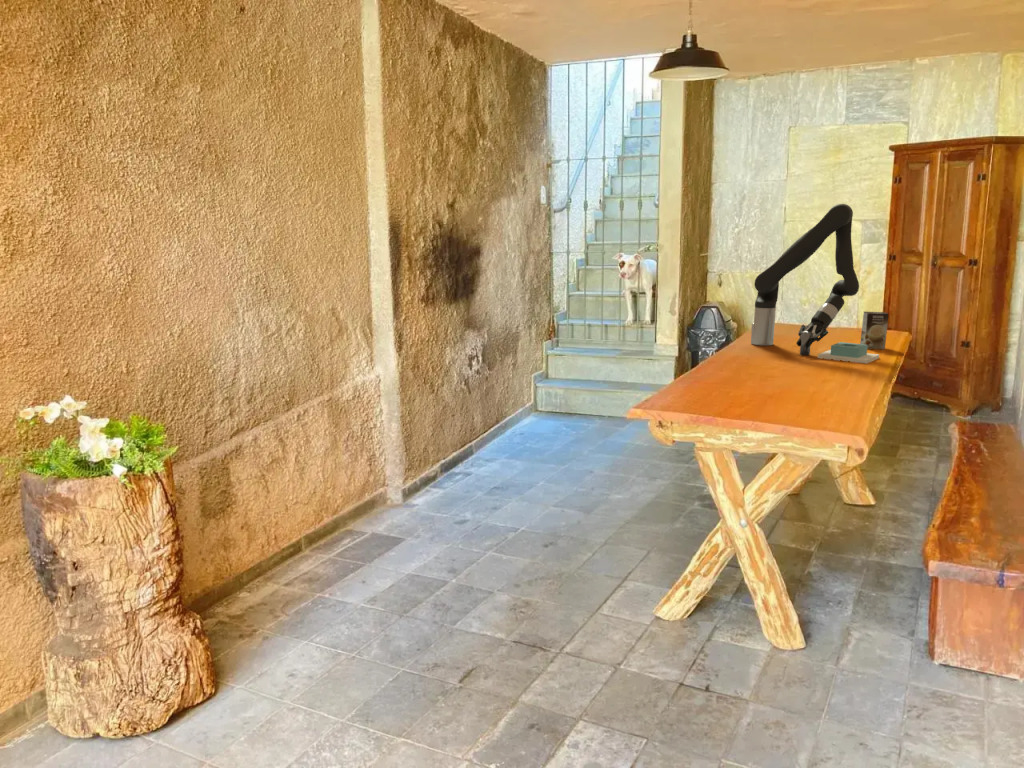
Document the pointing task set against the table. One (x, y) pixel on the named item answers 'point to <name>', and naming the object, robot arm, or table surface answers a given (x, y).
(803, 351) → the dark grey tall block
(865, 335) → the coffee box
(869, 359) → the socket board
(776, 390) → the table surface
